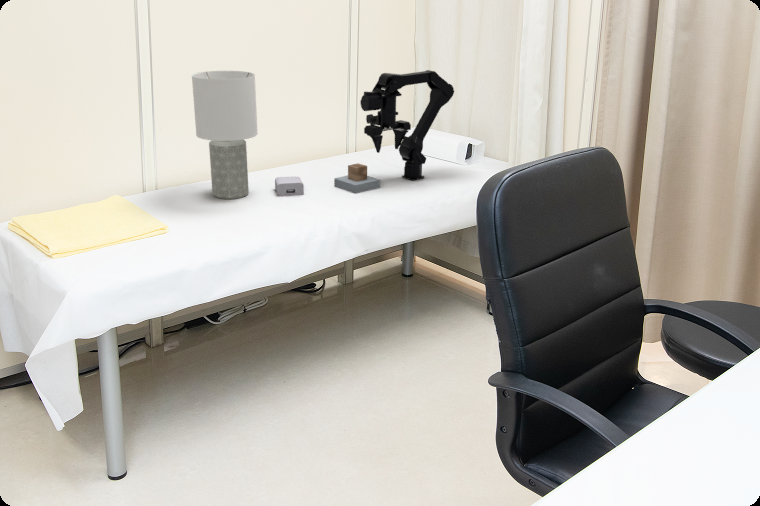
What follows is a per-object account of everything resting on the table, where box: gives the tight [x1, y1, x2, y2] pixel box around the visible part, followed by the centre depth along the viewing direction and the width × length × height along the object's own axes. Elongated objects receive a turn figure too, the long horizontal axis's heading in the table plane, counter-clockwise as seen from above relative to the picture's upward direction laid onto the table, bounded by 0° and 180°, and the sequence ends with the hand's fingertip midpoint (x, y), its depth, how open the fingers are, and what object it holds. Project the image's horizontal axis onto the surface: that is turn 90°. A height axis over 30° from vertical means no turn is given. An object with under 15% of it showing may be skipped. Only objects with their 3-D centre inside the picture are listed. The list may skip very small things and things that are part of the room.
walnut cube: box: [347, 162, 368, 181], centre depth 272 cm, size 5×5×5 cm
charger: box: [274, 175, 305, 197], centre depth 268 cm, size 5×9×15 cm
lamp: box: [191, 70, 258, 200], centre depth 255 cm, size 21×21×42 cm
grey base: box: [333, 174, 381, 194], centre depth 273 cm, size 12×12×3 cm
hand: (387, 150), depth 276 cm, fingers open, 9 cm apart
